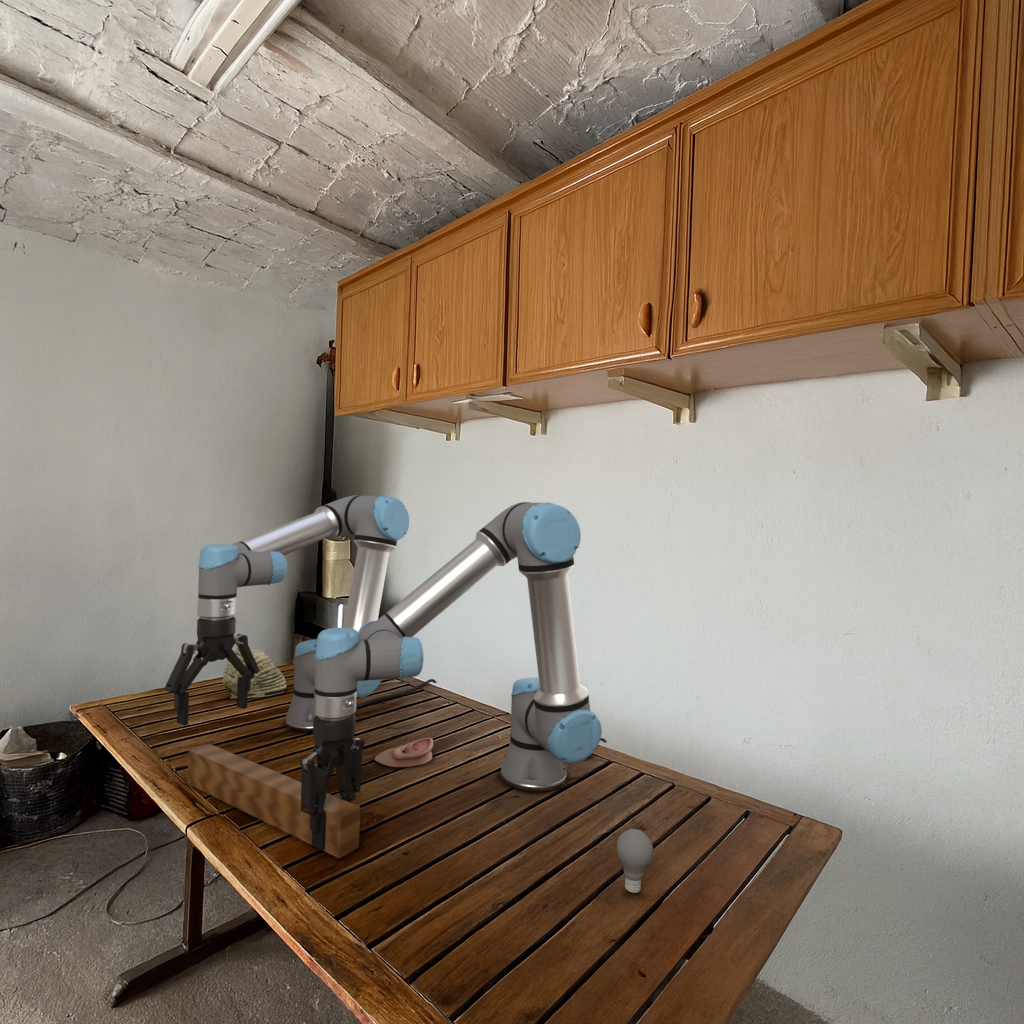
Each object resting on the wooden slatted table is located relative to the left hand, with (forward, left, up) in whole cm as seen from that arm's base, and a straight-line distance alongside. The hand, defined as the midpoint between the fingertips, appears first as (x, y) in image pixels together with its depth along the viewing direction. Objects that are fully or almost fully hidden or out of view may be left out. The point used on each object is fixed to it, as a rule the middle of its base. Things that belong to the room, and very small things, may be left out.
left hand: (213, 715), depth 136 cm
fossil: (-38, -51, -15) cm, 66 cm away
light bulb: (-29, +86, -15) cm, 92 cm away
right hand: (-4, +37, -15) cm, 40 cm away
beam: (-2, +19, -15) cm, 24 cm away
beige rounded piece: (-38, +19, -15) cm, 45 cm away
